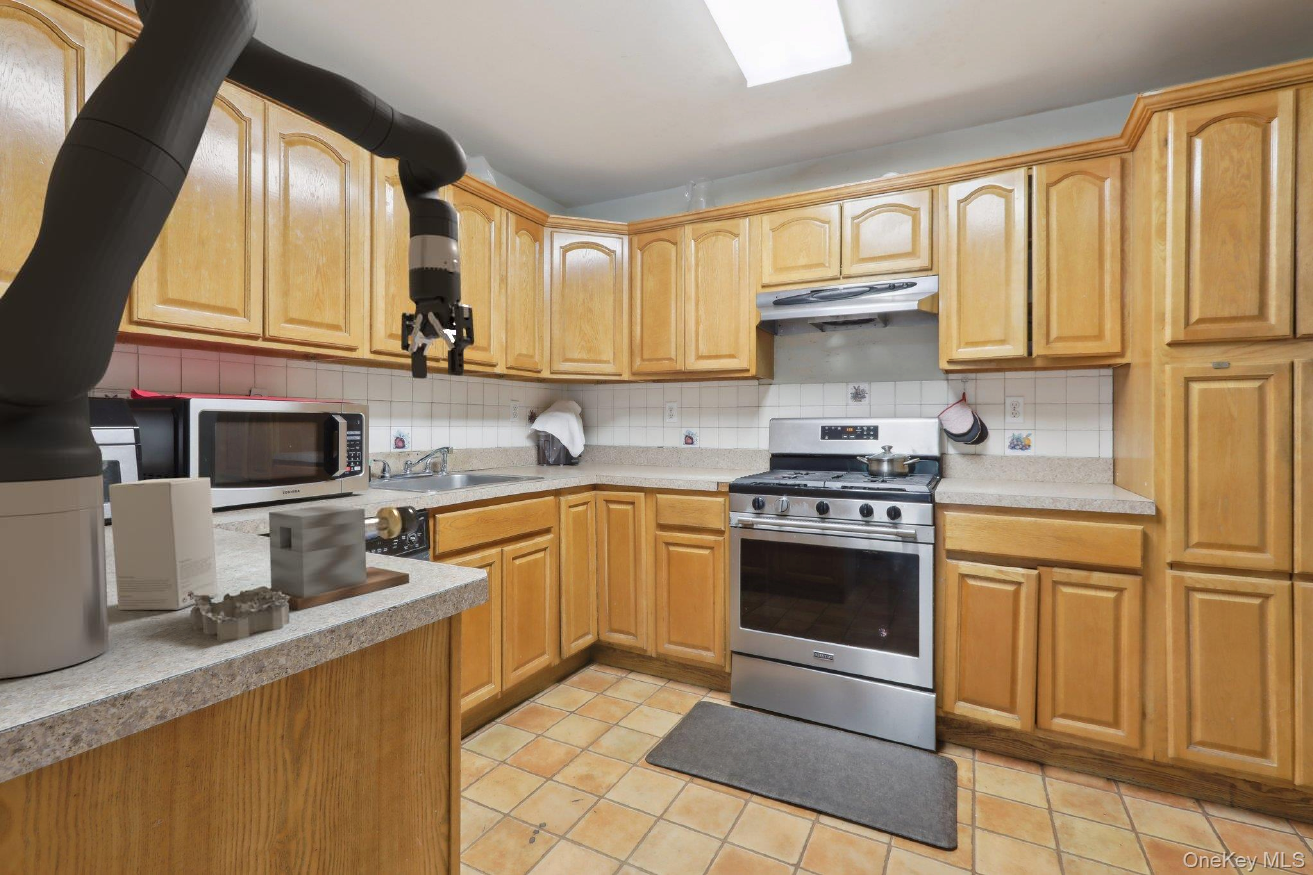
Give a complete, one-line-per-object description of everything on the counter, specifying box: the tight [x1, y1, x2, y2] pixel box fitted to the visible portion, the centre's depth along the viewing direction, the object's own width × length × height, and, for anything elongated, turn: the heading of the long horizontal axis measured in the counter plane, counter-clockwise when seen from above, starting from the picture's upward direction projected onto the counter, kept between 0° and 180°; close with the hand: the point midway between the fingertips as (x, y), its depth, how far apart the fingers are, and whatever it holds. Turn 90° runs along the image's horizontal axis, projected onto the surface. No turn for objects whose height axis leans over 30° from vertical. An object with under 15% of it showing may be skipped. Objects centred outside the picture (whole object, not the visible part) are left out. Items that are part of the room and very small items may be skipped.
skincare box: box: [108, 477, 219, 611], centre depth 77 cm, size 8×7×16 cm
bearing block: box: [268, 504, 410, 611], centre depth 82 cm, size 15×9×11 cm, turn 147°
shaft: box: [365, 505, 420, 540], centre depth 86 cm, size 14×4×4 cm, turn 147°
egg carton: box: [188, 585, 291, 641], centre depth 69 cm, size 11×8×4 cm
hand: (437, 376), depth 96 cm, fingers open, 8 cm apart
